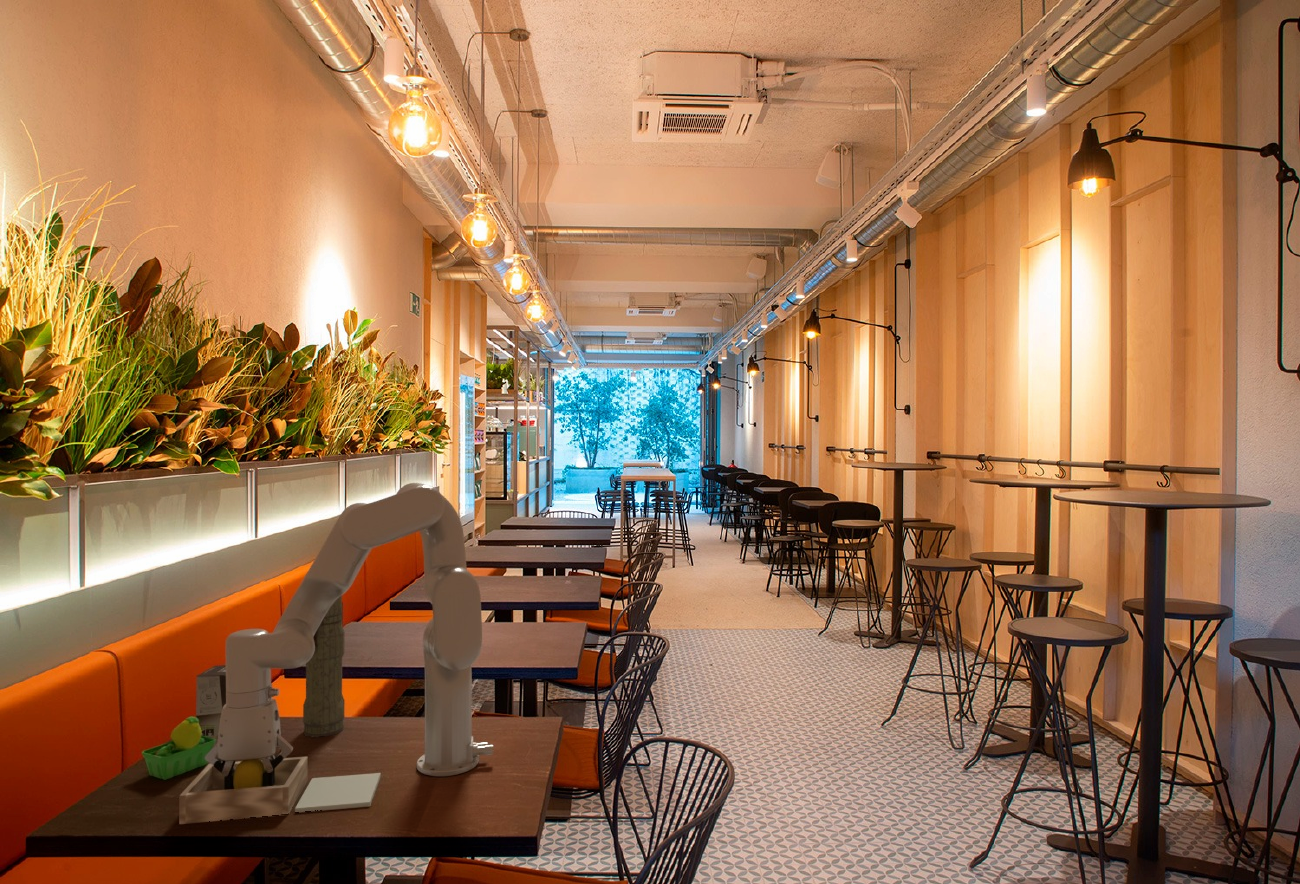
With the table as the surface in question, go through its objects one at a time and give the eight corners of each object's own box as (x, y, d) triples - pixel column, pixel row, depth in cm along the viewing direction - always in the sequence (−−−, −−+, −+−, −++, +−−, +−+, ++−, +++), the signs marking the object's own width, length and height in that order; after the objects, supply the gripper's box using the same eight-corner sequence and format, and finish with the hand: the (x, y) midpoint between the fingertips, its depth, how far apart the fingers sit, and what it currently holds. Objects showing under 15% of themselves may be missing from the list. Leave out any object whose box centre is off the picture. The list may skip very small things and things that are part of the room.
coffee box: (225, 747, 169) (225, 675, 169) (194, 748, 169) (195, 676, 169) (242, 732, 178) (243, 663, 179) (213, 733, 178) (214, 664, 178)
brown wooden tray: (307, 781, 152) (307, 756, 152) (288, 814, 138) (288, 787, 138) (208, 789, 148) (208, 763, 148) (179, 824, 135) (179, 795, 135)
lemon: (252, 807, 140) (252, 763, 140) (226, 804, 141) (225, 761, 141) (273, 793, 146) (272, 751, 146) (247, 791, 147) (247, 749, 147)
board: (380, 776, 154) (380, 772, 154) (370, 806, 141) (370, 801, 141) (312, 782, 152) (312, 778, 152) (295, 812, 139) (295, 808, 139)
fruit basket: (194, 756, 164) (194, 704, 165) (221, 764, 161) (221, 710, 161) (139, 777, 154) (139, 721, 154) (166, 785, 150) (166, 728, 150)
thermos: (354, 721, 185) (354, 577, 186) (328, 740, 173) (329, 586, 174) (319, 720, 186) (320, 577, 186) (292, 738, 174) (292, 585, 175)
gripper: (302, 687, 149) (303, 779, 149) (206, 693, 146) (207, 788, 146) (292, 699, 142) (293, 797, 141) (191, 707, 138) (192, 807, 138)
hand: (249, 791), depth 143 cm, fingers closed on lemon, 5 cm apart
